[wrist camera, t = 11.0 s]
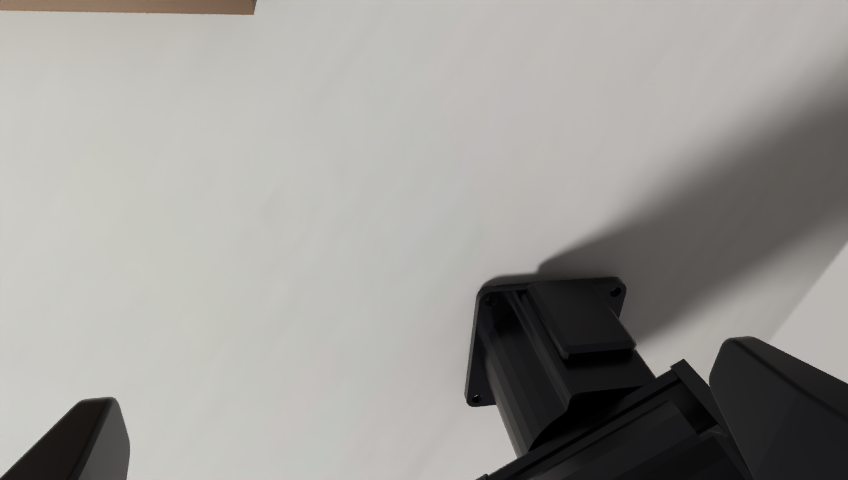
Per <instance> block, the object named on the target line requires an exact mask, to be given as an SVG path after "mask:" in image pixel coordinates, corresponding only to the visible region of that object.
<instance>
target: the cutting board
mask: <svg viewBox="0 0 848 480" xmlns="http://www.w3.org/2000/svg"><path fill="white" fill-rule="evenodd" d="M256 1H257V0H0V10H7V11H65V12H123V13H180V14H238V15H254V10H255V6H256Z"/></svg>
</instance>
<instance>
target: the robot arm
mask: <svg viewBox="0 0 848 480" xmlns="http://www.w3.org/2000/svg"><path fill="white" fill-rule="evenodd" d="M613 288H616V289H615V290H613V291H611V290H612V289H613ZM625 294H626V286H625V284H624V283H623V282H622V281H621V279H619V278H617V277H609V278H595V279H574V280H560V281H545V282H534V283H524V284H510V285H496V286H487V287H484V288H482V289H481V290H480V291H479V292H478V294H477V296H476V304H475V312H474V320H473V328H472V336H471V344H470V353H469V361H468V369H467V377H466V385H465V393H464V394H465V399H466V402H467V404H468V405H469V406H472V407H480V406H489V405H497V407H498V410H499V412H500V415H501V417H502V420H503V423H504V425H505V428H506V430H507V433H508V435H509V438H510V440H511V443H512V446H513V448H514V451H515V453H516V456H517V459H516V460H514V461H512V462H510V463H509V464H507V465H505V466H504V467H502V468H500V469H498V470H497V471H495V472H493V473H492V474H490V475H487V474H485V475H483V476H481V477H479V478H478V479H476V480H848V384H847V383H845V382H843V381H841V380H839V379H837V378H835V377H833V376H831V375H829V374H827V373H825V372H823V371H821V370H819V369H817V368H815V367H813V366H811V365H809V364H807V363H805V362H803V361H801V360H799V359H797V358H795V357H793V356H791V355H789V354H787V353H785V352H783V351H781V350H779V349H777V348H775V347H773V346H771V345H769V344H767V343H765V342H763V341H761V340H759V339H757V338H755V337H750V336H745V337H734V338H729V339H727V340H725V341H724V342H723V344H722V346H721V348H720V350H719V353H718V355H717V358H716V360H715V363H714V365H713V368H712V370H711V373H710V376H709V385H710V387H709V386H708V384H707V383H706V382H705V381H704V380H703V379H702V378H701V377H700V376H699V375H698V374H697V373H696V371H695V370H694V369H693V368H692V367H691V366H690V365H689V364H688V363H687V362H686V361H685V359H682V360H681V361H679V362H677V363H676V364H674V365H672V366H670V368H671V370H669V371H667V372H666V373H664V374H662V375H660V376H659V377H657V378H656V377H655V375H654V374H653V373H652V371H651V370H650V368H649V367H648V366H647V364H646V363H645V361H644V360H643V359H642V357H641V356H640V355H639V353H638V352H637V350H636V349H635V347H636V342H635V341H634V339H633V338H632V337H631V335H630V334H629V333H628V331H627V330H626V329H625V327H624V326H623V324H622V323H621V322H620V320H619V316H620V312H621V309H622V305H623V302H624V298H625ZM488 297H493V298H492V299H491V300H489V301H485V300H486V299H487V298H488ZM476 395H478V396H476ZM474 396H475V397H474ZM129 457H130V442H129V437H128V433H127V430H126V427H125V423H124V420H123V416H122V413H121V409H120V406H119V403H118V402H117V400H116V399H115V398H113V397H103V398H92V399H84V400H81V401H80V402H78V403H77V404H76V405H74V406H73V407H72V408H71V409H70V410H69V411H68V412H67V413H66V414H65V415H64V416H63V417H62V418H61V419H60V420H59V421H58V422H57V423H56V424H55V425H54V426H53V427H52V428H51V429H50V430H49V431H48V432H47V433H46V434H45V435H44V436H43V437H42V438H41V439H40V440H39V441H38V442H37V443H36V444H35V445H34V446H32V447H31V448H30V449H29V450H28V451H27V452H26V453H25V454H24V455H23V456H22V457H21V458H20V459H19V460H18V461H17V462H16V463H15V464H14V465H13V466H12V467H11V468H10V469H9V470H8V471H7V472H6V473H5V474H4V475H3V476H2V477H1V478H0V480H126V479H127V472H128V465H129Z"/></svg>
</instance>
